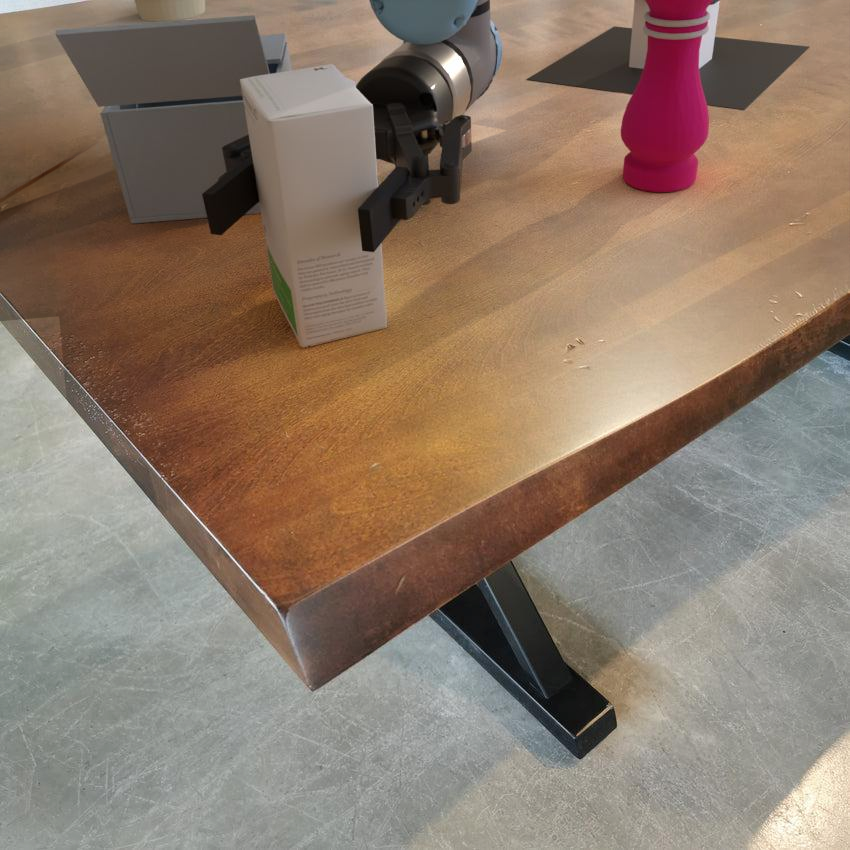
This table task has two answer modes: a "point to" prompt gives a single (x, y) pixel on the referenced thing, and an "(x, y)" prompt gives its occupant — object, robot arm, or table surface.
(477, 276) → the table surface
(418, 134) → the robot arm
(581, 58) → the dark grey square mat
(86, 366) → the table surface
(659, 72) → the pepper mill
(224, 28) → the flap
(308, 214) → the cosmetic box
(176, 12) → the reusable coffee cup
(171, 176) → the carton
